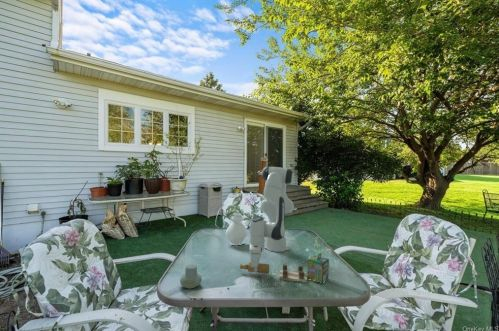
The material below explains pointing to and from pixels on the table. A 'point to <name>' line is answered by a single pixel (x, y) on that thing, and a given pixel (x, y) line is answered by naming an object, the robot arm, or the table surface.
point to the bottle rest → (293, 274)
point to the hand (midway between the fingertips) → (256, 269)
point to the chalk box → (318, 268)
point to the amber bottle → (260, 269)
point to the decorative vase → (236, 230)
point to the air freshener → (190, 277)
